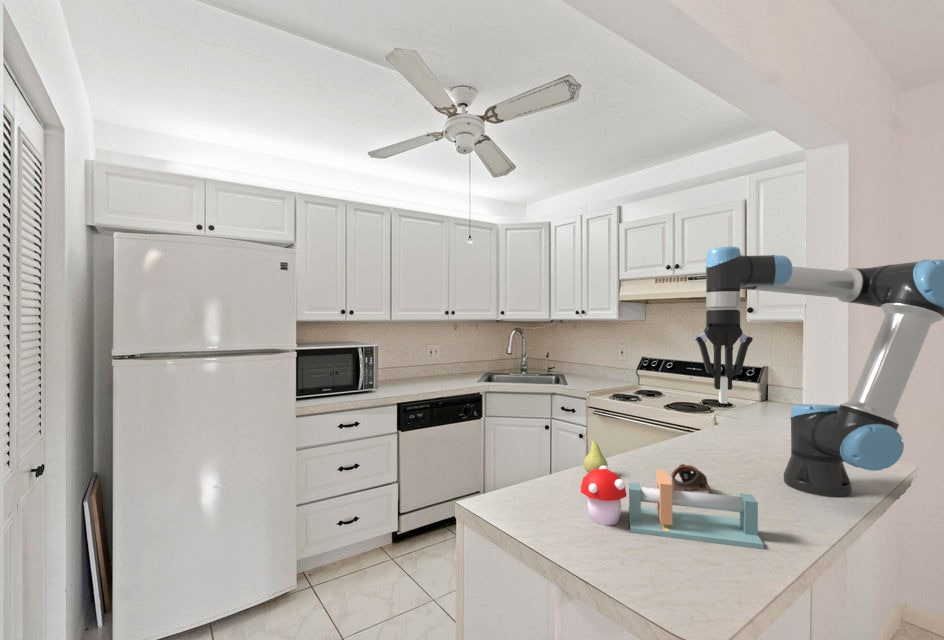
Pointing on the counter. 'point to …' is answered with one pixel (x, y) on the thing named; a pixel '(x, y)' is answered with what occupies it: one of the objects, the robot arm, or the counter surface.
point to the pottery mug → (689, 479)
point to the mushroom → (603, 495)
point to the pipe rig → (697, 517)
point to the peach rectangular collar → (664, 497)
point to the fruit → (594, 458)
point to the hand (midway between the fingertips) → (723, 402)
